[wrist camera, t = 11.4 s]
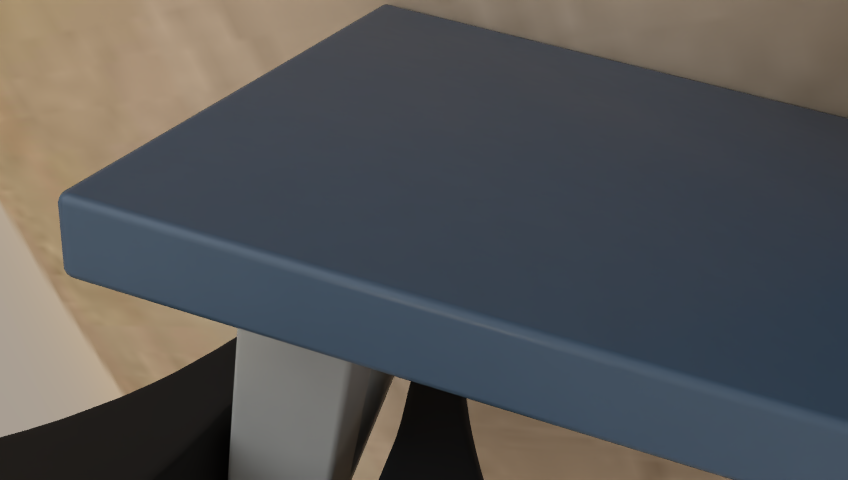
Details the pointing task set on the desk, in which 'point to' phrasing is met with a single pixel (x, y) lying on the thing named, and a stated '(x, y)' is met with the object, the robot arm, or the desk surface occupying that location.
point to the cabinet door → (496, 249)
